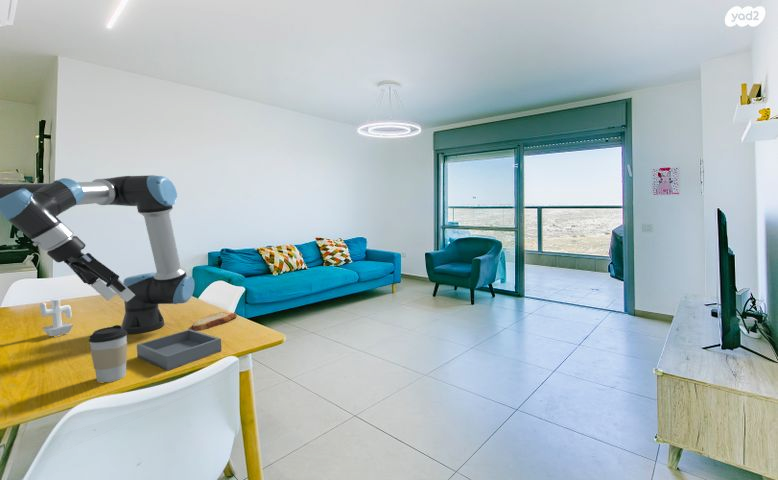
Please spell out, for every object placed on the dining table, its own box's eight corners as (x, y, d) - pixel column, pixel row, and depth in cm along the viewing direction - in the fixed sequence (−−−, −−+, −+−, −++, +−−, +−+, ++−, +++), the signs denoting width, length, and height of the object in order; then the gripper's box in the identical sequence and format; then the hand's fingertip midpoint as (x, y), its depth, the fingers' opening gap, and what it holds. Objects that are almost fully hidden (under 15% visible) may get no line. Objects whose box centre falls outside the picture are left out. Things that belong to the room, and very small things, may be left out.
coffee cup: (109, 386, 100) (105, 334, 99) (83, 383, 102) (79, 333, 101) (137, 371, 109) (134, 324, 108) (113, 369, 111) (110, 323, 110)
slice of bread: (190, 332, 145) (189, 323, 145) (194, 320, 162) (194, 312, 162) (237, 326, 153) (237, 318, 152) (237, 315, 169) (236, 307, 169)
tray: (137, 357, 120) (136, 344, 120) (190, 340, 135) (189, 329, 135) (167, 370, 110) (166, 356, 109) (221, 350, 125) (220, 338, 124)
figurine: (77, 332, 146) (74, 297, 145) (48, 340, 138) (44, 302, 136) (68, 330, 149) (65, 295, 148) (38, 337, 141) (35, 300, 139)
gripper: (32, 254, 99) (93, 305, 109) (61, 249, 85) (127, 309, 96) (59, 237, 104) (115, 288, 114) (90, 231, 90) (150, 289, 101)
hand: (121, 298), depth 105 cm, fingers open, 13 cm apart
